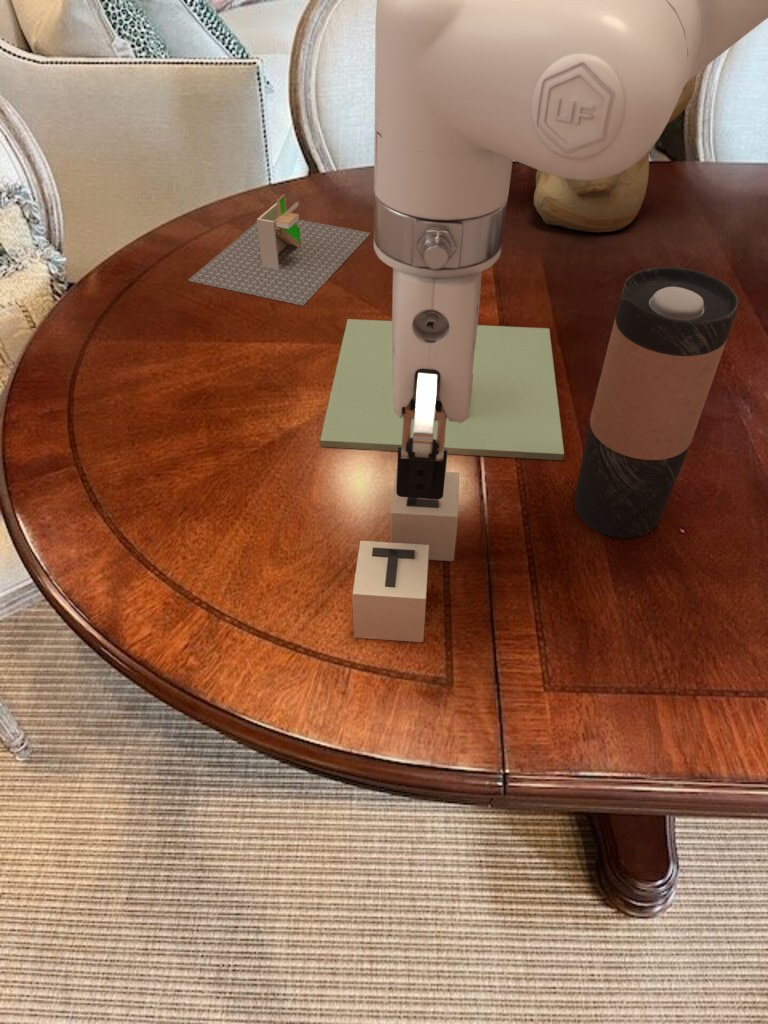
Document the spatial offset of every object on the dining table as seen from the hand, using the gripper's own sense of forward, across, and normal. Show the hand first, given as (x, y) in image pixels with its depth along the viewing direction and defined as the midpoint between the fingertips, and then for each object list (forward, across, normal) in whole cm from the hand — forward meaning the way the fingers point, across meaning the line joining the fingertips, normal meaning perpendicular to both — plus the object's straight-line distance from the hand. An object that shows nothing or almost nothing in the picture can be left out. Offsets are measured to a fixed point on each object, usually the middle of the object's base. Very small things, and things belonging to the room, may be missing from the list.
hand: (423, 449), depth 57 cm
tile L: (+9, 0, 0) cm, 9 cm away
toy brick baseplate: (+10, +47, +20) cm, 52 cm away
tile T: (+9, -8, +2) cm, 12 cm away
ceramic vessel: (+9, +62, -20) cm, 65 cm away
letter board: (+9, +21, -2) cm, 23 cm away
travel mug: (+9, +4, -17) cm, 19 cm away
